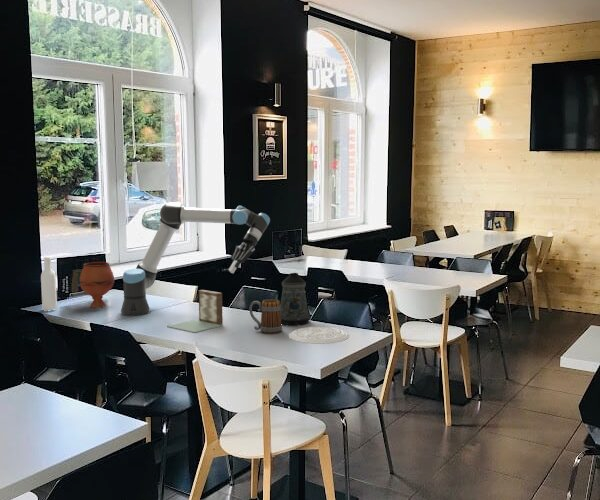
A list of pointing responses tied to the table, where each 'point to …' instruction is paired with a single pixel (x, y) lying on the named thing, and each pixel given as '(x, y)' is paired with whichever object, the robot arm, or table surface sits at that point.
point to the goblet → (96, 281)
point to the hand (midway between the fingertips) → (231, 271)
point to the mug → (268, 316)
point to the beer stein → (294, 301)
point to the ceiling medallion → (318, 335)
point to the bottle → (48, 286)
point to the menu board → (210, 307)
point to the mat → (194, 326)
